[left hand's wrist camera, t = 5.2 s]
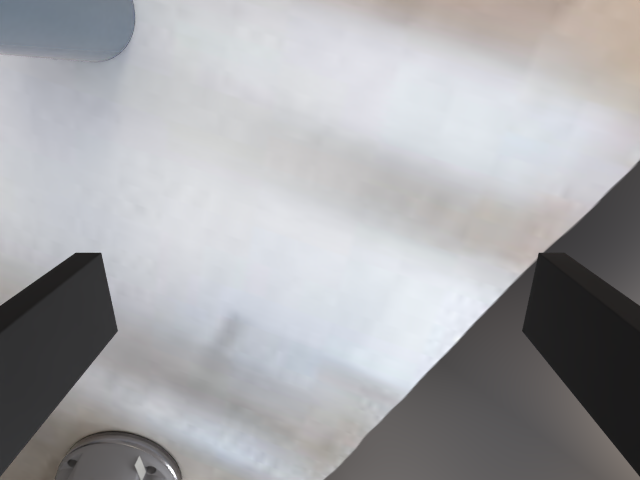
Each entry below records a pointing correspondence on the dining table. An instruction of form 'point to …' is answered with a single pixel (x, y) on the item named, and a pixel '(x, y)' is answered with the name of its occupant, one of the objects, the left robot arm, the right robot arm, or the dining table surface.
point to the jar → (66, 28)
